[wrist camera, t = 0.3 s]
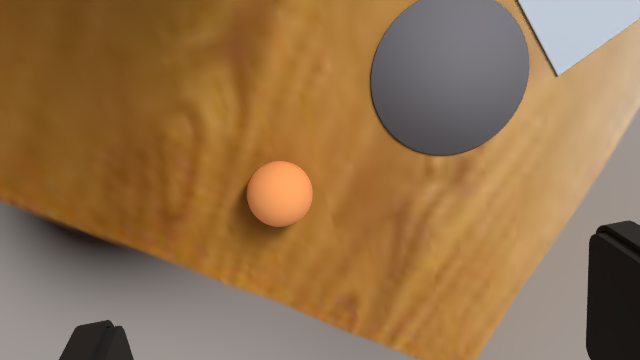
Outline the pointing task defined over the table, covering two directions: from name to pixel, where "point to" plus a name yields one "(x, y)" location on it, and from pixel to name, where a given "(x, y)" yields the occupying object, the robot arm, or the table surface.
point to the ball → (279, 193)
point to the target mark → (449, 74)
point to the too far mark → (577, 26)
